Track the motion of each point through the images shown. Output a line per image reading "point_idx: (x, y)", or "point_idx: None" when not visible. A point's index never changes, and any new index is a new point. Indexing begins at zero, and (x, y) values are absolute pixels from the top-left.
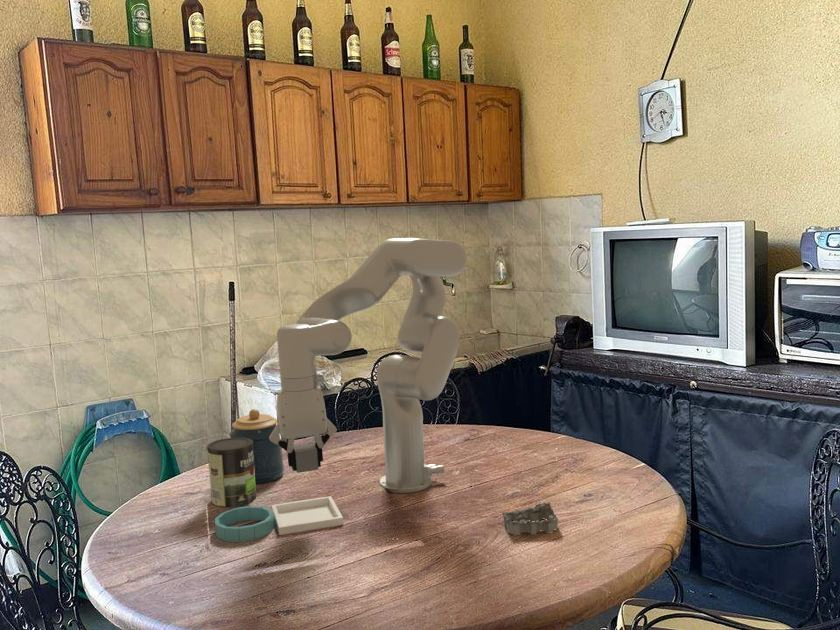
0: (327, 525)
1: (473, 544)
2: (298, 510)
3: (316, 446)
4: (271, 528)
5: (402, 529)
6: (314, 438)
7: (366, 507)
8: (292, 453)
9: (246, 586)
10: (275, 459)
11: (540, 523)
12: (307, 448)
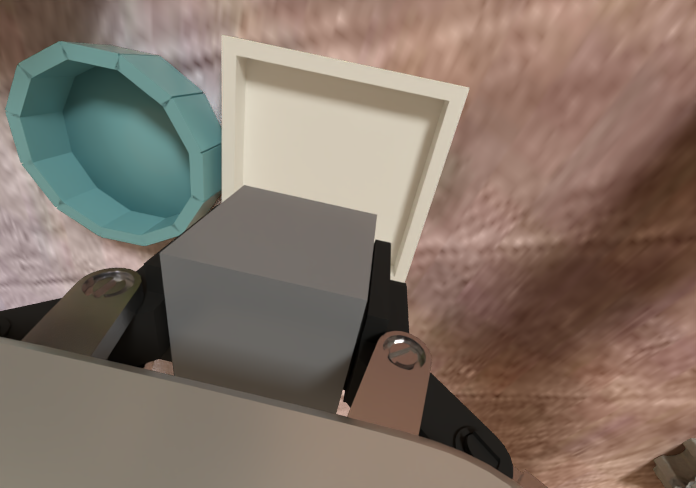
0: None
1: (563, 453)
2: (325, 91)
3: (348, 396)
4: (210, 203)
5: (512, 349)
6: (359, 387)
7: (547, 176)
8: (162, 356)
9: (156, 369)
10: None
11: None
12: (273, 380)
